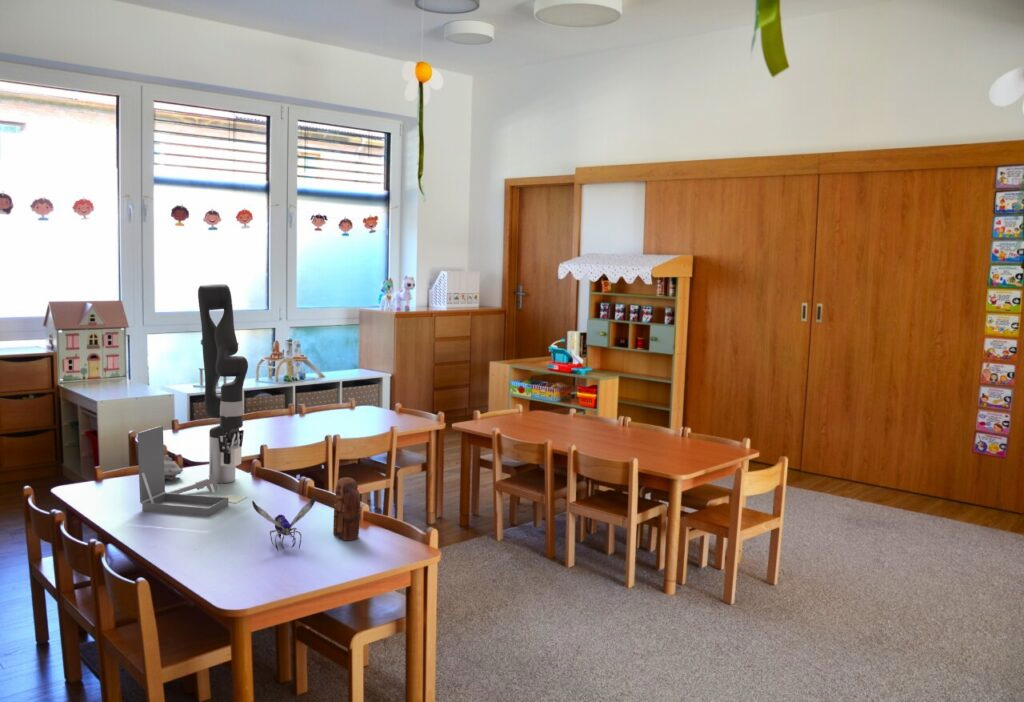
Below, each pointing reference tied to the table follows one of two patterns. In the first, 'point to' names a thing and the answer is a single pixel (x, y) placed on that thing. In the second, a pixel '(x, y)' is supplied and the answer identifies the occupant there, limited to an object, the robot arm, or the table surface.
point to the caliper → (198, 485)
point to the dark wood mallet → (346, 509)
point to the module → (233, 457)
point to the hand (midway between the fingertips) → (231, 461)
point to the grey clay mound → (170, 468)
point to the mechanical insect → (285, 521)
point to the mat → (234, 498)
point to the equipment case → (154, 482)
